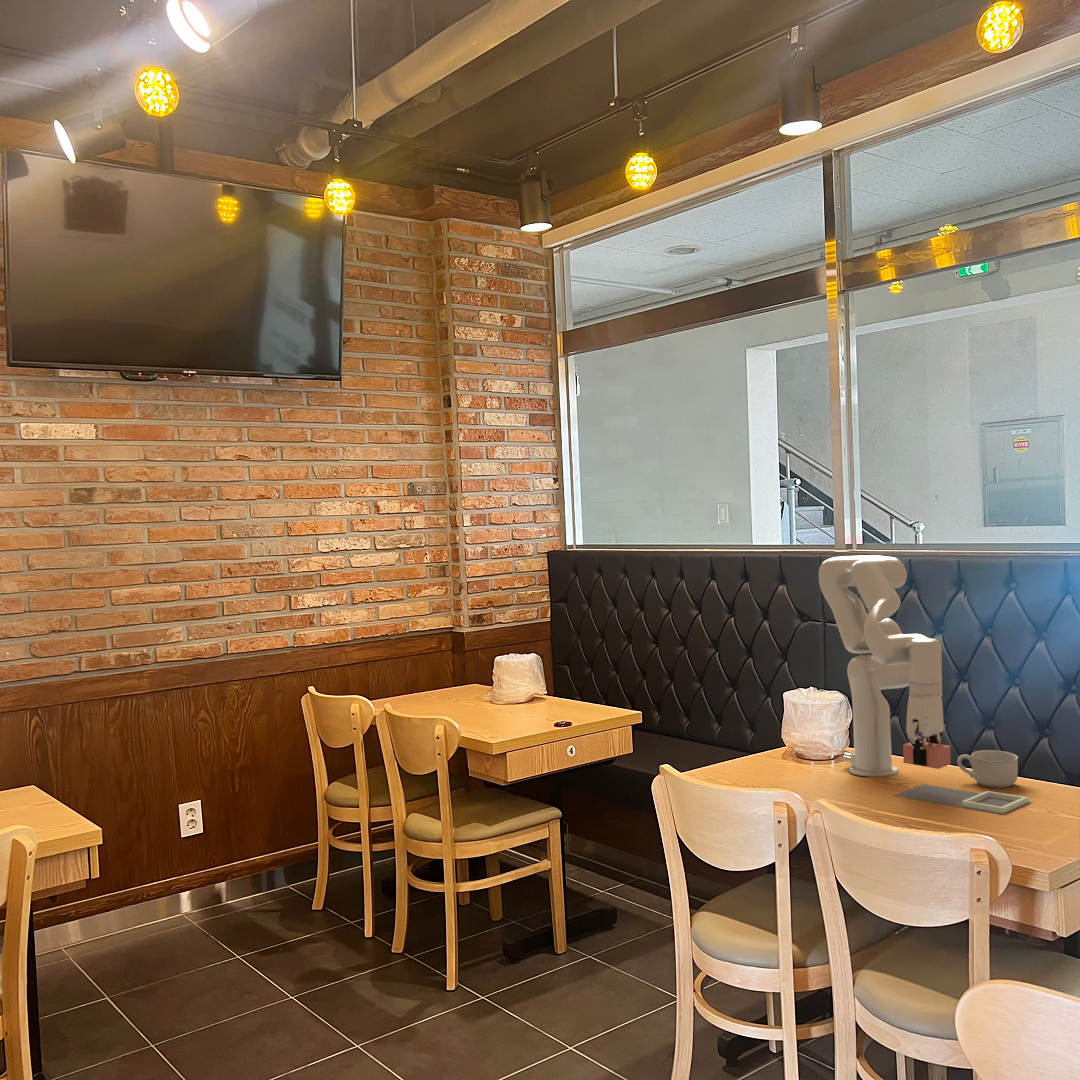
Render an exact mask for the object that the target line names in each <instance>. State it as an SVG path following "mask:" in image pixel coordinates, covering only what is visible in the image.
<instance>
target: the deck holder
mask: <svg viewBox="0 0 1080 1080" xmlns="http://www.w3.org/2000/svg"><path fill="white" fill-rule="evenodd" d="M988 797H992V798H998V799H1004V800H1010V801H1014V802H1011V803H1009V804H1007V805H1005V806H1002V807H999V806H993V805H987V804H981V803H976V802H978V801H981V800H983V799H986V798H988ZM1028 801H1029V797H1028V796H1022V795H1015V794H1008V793H1004V792H1003V793H1002V792H997V791H990V790H985V791H983V792H981V794H978V795H976V796H973V797H971V798H968V799H966V800H963V801H962V806H963V807H969V808H975V809H980V810H986V811H992V812H997V813H1003V814H1004V813H1006V812H1008V811H1010V810H1013V809H1015V808H1017V807H1019V806H1022V805H1024V804H1026V803H1028Z"/></svg>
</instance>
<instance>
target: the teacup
mask: <svg viewBox="0 0 1080 1080" xmlns="http://www.w3.org/2000/svg"><path fill="white" fill-rule="evenodd" d="M963 759H966V760H968V762H969V764H970V765H971V770H970V769H968V768H966V766H964V765H963V764H962V763H963V762H962V761H963ZM1018 760H1019V756H1018V755H1016V754H1014V753H1012V752H1009V751H1004V750H1003V751H1002V750H996V749H995V750H993V749H991V750H990V749H986V750H985V749H984V750H983V749H982V750H976V751H973V752H972V753H971V755H969V754H967V753H966V754H961V755H959V756H958V758H957V761H956V763H957V767H958V768H959V769H960V770H961V771H963V772H964V773H965V774H968V775H969V777H970V778H971V779H974V780H975V781H976V782H977V783H978V784H979V785H981V786H984V787H987V788H993V789H994V788H997V789H999V788H1000V789H1002V788H1009V787H1011V786H1012V785H1014V784H1015V783H1016V782H1017V780H1018V774H1019V772H1018V771H1019V769H1018V765H1019V764H1018V762H1019V761H1018Z"/></svg>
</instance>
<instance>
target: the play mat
mask: <svg viewBox="0 0 1080 1080" xmlns="http://www.w3.org/2000/svg"><path fill="white" fill-rule="evenodd" d="M981 793H982V792H981ZM981 793H980V792H974V791H968V790H962V789H955V788H949V787H943V786H938V785H931V784H925V783H924V784H921V785H918V786H915V787H912V788H911V789H907V790H905V791H902V792H900V793H896V794H894V795H892V796H893V797H898V798H904V799H910V800H915V801H920V802H927V803H931V804H936V805H937V804H939V805H943V806H949V807H955V808H959V809H964V810H965V809H966V810H972V811H976V812H977V811H978V812H982V813H987V814H995V815H1000V816H1007V815H1008V814H1010V813H1012V812H1015V811H1018V810H1020V809H1022V808H1024V807H1026V806H1029V805H1030V804H1032V803H1033V804H1034V801H1029V800H1028V803H1026V804H1024V805H1022V806H1019V807H1017V808H1015V809H1013V810H1010V811H1008V812H1006V813H1004V814H1003V813H997V812H992V811H986V810H980V809H975V808H969V807H963V806H962V801H963V800H966V799H968V798H971V797H973V796H976V795H978V794H981ZM1011 802H1014V801H1010V800H1004V799H998V798H992V797H988V798H986V799H983V800H981V801H978V802H976V803H981V804H987V805H993V806H999V807H1002V806H1005V805H1007V804H1009V803H1011Z"/></svg>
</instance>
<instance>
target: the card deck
mask: <svg viewBox="0 0 1080 1080" xmlns="http://www.w3.org/2000/svg"><path fill="white" fill-rule="evenodd" d="M919 741H920V743H921V740H919ZM902 749H903V751H902V752H903V753H902V754H903V755H902V756H903V763H904V764H909V765H914V766H916V765H915V764H913V748H912V744H911V742H910V741H909V742H907V743H904V744H903V747H902ZM925 749H926V757H927V765H926V766H924V767H925V768H931V769H935V770H936V769H937V770H939V769H942V768H945V767H947V766H949V765H951V761H952V760H951V759H952V758H951V745H947V744H942V743H941V744H935V743H929V741H926V743H925ZM918 766H920V765H918ZM920 767H921V766H920Z"/></svg>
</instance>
